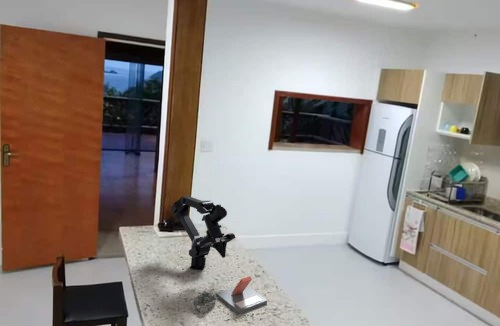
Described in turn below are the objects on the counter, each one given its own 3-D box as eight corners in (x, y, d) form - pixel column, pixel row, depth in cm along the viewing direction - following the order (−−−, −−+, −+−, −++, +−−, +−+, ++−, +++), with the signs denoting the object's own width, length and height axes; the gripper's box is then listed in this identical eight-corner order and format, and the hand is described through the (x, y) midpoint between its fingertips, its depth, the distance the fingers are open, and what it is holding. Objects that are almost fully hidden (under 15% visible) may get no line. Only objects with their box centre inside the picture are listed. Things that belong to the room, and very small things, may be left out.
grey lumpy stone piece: (203, 315, 160) (204, 306, 159) (188, 308, 164) (189, 299, 163) (218, 303, 169) (219, 295, 169) (204, 297, 173) (204, 288, 172)
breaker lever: (230, 293, 175) (240, 279, 169) (241, 289, 178) (251, 275, 173) (232, 296, 174) (242, 282, 168) (243, 292, 178) (252, 279, 172)
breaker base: (215, 296, 175) (216, 292, 174) (243, 286, 185) (243, 283, 185) (238, 314, 163) (239, 310, 163) (266, 303, 174) (267, 299, 173)
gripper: (215, 230, 199) (226, 260, 194) (187, 234, 185) (198, 267, 180) (230, 221, 193) (241, 252, 188) (202, 225, 179) (213, 258, 174)
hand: (224, 257), depth 183 cm, fingers closed
